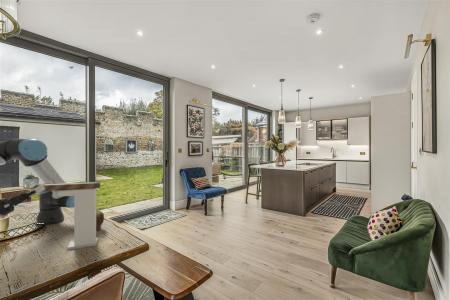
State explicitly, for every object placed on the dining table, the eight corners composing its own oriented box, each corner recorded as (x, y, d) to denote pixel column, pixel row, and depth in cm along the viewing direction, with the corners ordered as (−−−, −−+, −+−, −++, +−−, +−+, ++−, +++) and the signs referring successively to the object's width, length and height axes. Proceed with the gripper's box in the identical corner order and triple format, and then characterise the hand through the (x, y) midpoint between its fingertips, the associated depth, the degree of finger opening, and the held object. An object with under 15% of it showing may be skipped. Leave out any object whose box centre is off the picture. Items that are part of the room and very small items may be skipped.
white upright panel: (57, 251, 111) (57, 191, 111) (61, 244, 119) (61, 188, 118) (96, 245, 118) (96, 189, 117) (98, 239, 126) (98, 186, 125)
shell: (94, 234, 132) (94, 214, 132) (79, 232, 134) (79, 212, 134) (107, 227, 143) (108, 209, 143) (93, 226, 145) (93, 207, 145)
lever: (34, 191, 109) (34, 185, 109) (36, 190, 112) (36, 184, 111) (99, 188, 120) (99, 182, 120) (100, 187, 123) (100, 181, 123)
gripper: (-22, 210, 93) (34, 182, 100) (6, 196, 115) (50, 175, 123) (-10, 224, 94) (44, 196, 102) (16, 208, 117) (58, 186, 124)
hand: (47, 184), depth 112 cm, fingers open, 13 cm apart
